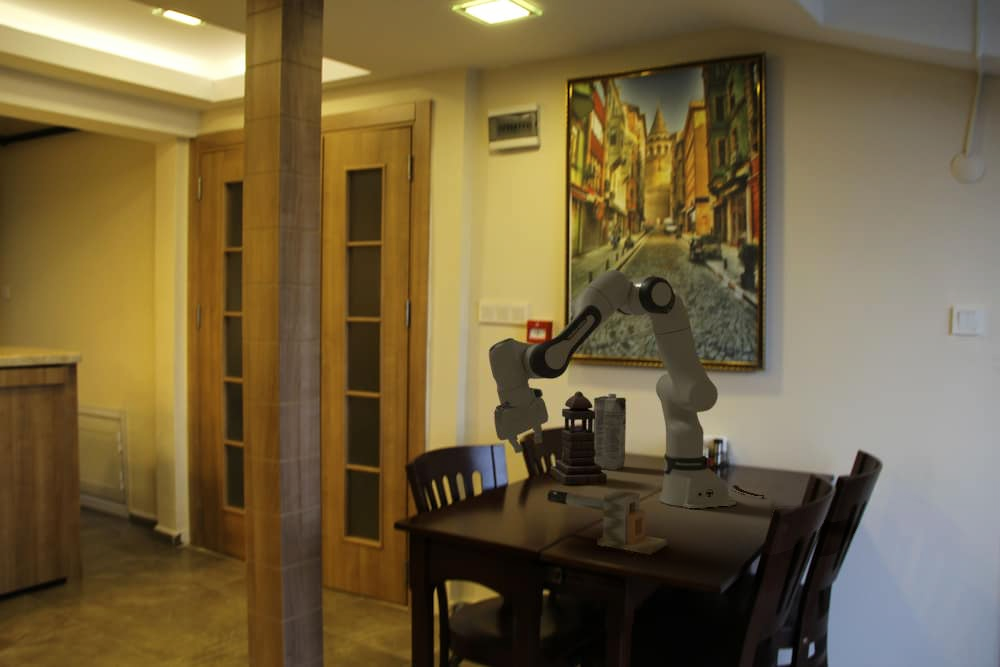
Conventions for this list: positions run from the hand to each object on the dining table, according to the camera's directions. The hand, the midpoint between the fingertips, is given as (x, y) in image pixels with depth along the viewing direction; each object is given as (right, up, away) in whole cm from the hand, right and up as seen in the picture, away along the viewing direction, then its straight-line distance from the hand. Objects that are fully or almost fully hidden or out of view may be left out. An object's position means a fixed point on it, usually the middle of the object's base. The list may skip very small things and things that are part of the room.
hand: (529, 447), depth 222 cm
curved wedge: (+71, -21, +38) cm, 84 cm away
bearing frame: (+25, -22, -20) cm, 38 cm away
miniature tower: (+18, -19, +55) cm, 61 cm away
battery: (+32, -18, +74) cm, 83 cm away
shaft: (+13, -14, -12) cm, 22 cm away
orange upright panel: (+26, -20, -20) cm, 38 cm away
